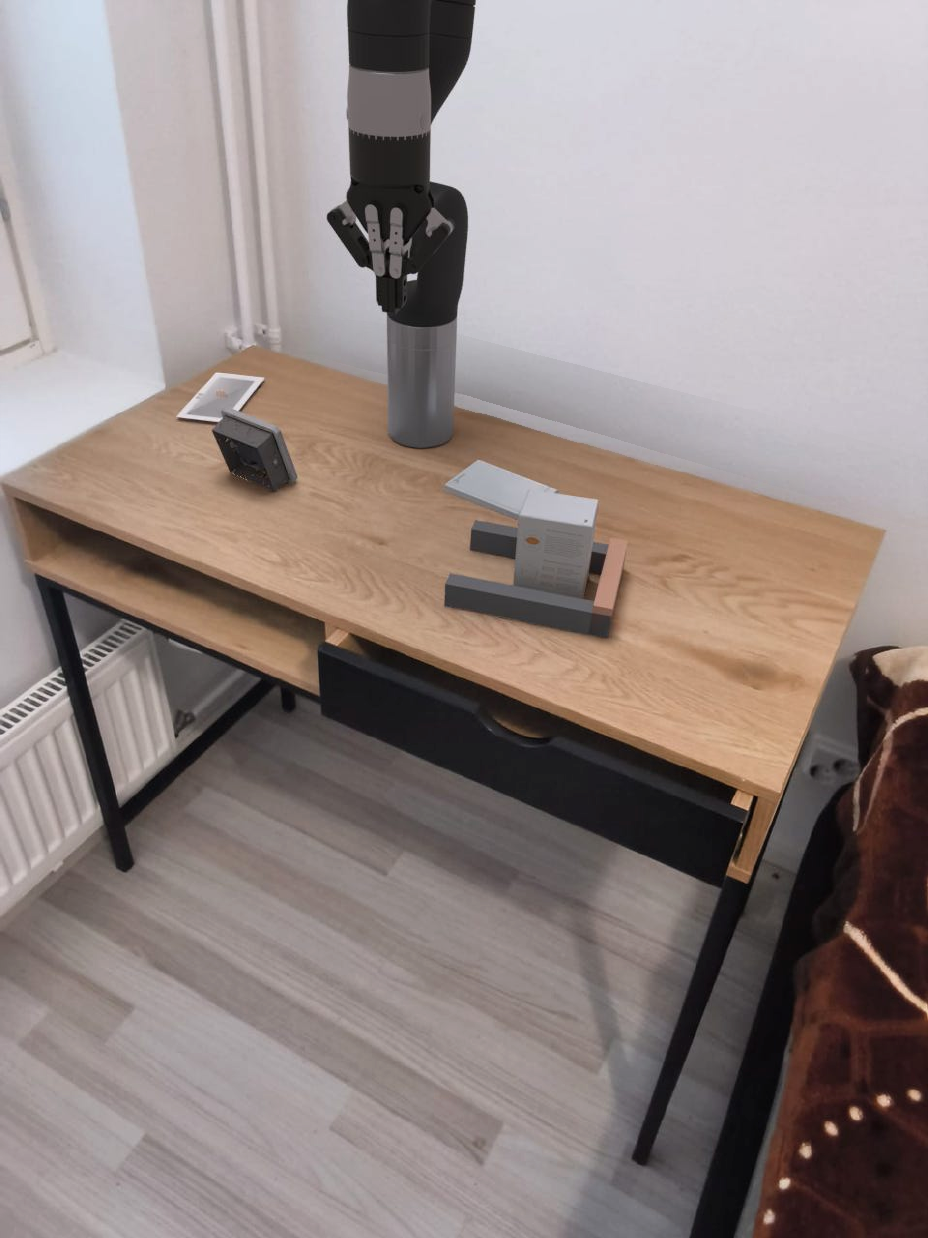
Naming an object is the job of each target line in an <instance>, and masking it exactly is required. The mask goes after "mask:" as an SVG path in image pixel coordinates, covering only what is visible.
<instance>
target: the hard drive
mask: <svg viewBox="0 0 928 1238" xmlns="http://www.w3.org/2000/svg"><path fill="white" fill-rule="evenodd" d="M443 488H444V490H443V491H444V492H447V493H449V494H451V495H454V496H456V497H459V498H461V499H464V500H467V501H469V502H472V503H474V504H477V505H478V506H481V507H483V508H487V509H489V510H491V511H493V512H496V513H499V514H501V515H503V516H506V517H507V518H508V517H509V518H512V519H514V520H516V521H518V519H519V514H520V511H521V509H522V506H523V503H524V501H525V498H526V495H527V493H528V490H529V489H531V490H538V491H544V492H550V493H557V494H560V493H559V489H557V488H554V487H552V486H549V485H546V484H544V483H541V482H538V481H535V480H533V479H530V478H528V477H525V476H522V475H521V474H517V473H514V472H513V471H509V470H506V469H504V468H501V467H499V466H496V465H495V464H494V465H493V464H491V463H489V462H486V461H484V460H480V459H477V460H476V461H474V462H473V463H472V464H470V465H469V466H467V467H466V468H465V469H463V470H462V471H460V472H459V473H458V474H457V475H455V476H454V477H453V478H451V479H450V480H449V481H447V482H446V483H445V484H444V487H443Z"/></svg>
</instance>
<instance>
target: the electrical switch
mask: <svg viewBox="0 0 928 1238" xmlns="http://www.w3.org/2000/svg"><path fill="white" fill-rule="evenodd" d="M221 413H222V417H223V419H222V420H220V421H219V422H217V425H215V426H214V427H212V429H211V432H212V434H213V435H212V436H213V437H214V439H215V441H216V444H217V446H218V448H219V450H220V452H221V455H222V457H223V460H224V461H225V464H226V467H227V468H228V470H229V473H230V474H232V473H234V474H235V475H236V476H235V475H234V476H235V477H237V475H238V476H239V477H238V478H240V476H241V477H242V478H244V479H243V480H245V479H247V480H248V481H247V480H246V481H247V482H249V481H251V482H250V483H252V484H254V485H257V486H259V487H261V488H264V489H266V490H269V491H272V492H274V493H276V492H277V491H278V490H279V488H281V487H282V486H284V485H285V484H286V482H288V483H289V484H292V483H293V484H294V483H295V482H296V481H297V480H298V478H299V477H298V475H297V471H296V469H295V466H294V464H293V460H292V457H291V454H290V452H289V449H288V446H287V443H286V441H285V438H284V435H283V433H282V430H281V429H280V428H279V426H278V425H276V424H273V423H270V422H268V421H266V420H263V419H260V418H257V417H255V416H252V415H249V414H247V413H244V412H242V411H240V410H239V411H237V410H234V409H232V408H229V407H226V408H224V409H223V410H221ZM260 472H262V473H263V474H262V475H261V476H259V473H260ZM242 478H241V479H242Z"/></svg>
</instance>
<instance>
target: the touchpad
mask: <svg viewBox="0 0 928 1238" xmlns="http://www.w3.org/2000/svg"><path fill="white" fill-rule="evenodd" d="M209 378H210V379H209V380H208V381H207V382H206V383H205V384H204V385H203V386H202V387H201V389H199V391H198V392H197V393H196V394H195V395H194V396H193V397H192V398H191V400H190V401H189V402H188V403H187V404H185V406H184V407H183V408H182V409H181V410H180V411H179V413H178V414H177V415H176V416H175V417H176V418H180V419H188V420H189V419H190V420H196V421H197V420H199V421H207V422H215V423H219V421H220V420H222V419H223V417H222V413H221V410H223V409H224V408H226V407H229V408H232V409H234V410H237V411H239V412H240V410H241V409H242V407H243V406H244V405H245V403H246V402H247V401H248V400H249V398H250V397H251V396H253V394H254V393H255V391H256V390H257V389H258V388H259V386H260V385H261V384H262V382H264V380H265V377H263V376H262V377H261V376H251V375H243V374H235V373H226V372H215V373H214V374H213V375H212V376H211V377H209Z"/></svg>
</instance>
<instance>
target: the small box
mask: <svg viewBox="0 0 928 1238" xmlns="http://www.w3.org/2000/svg"><path fill="white" fill-rule="evenodd" d="M599 501H600V500H599V499H595V498H588V497H582V496H574V495H569V494H568V495H567V494H562V493H558V494H557V493H550V492H544V491H538V490H531V489H529V490H528V493H527V495H526V498H525V501H524V503H523V506H522V509H521V511H520V514H519V519H518V520H517V528H518V533H517V545H516V557H515V560H514V572H513V582H512V583H513V584H512V585H513V586H518V587H523V588H528V589H534V590H539V591H544V592H549V593H554V594H559V595H564V596H569V597H574V598H580V599H584V595H585V592H586V587H587V583H588V578H589V567H590V560H591V553H592V546H593V542H594V539H595V537H594V536H595V532H596V531H595V530H596V523H597V517H598V512H599V511H598V509H599Z"/></svg>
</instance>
